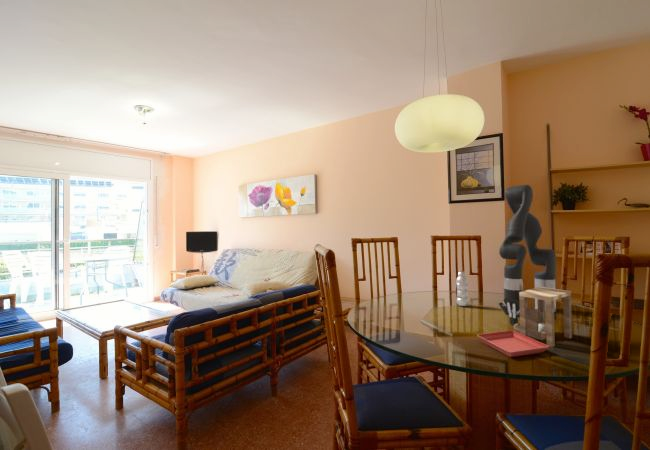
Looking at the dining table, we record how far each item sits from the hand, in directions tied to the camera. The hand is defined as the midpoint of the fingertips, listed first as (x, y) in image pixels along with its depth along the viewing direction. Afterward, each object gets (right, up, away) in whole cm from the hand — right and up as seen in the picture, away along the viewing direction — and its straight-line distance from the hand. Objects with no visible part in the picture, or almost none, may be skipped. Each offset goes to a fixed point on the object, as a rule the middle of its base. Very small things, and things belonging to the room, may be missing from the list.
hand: (513, 325), depth 146 cm
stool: (+7, -2, -11) cm, 13 cm away
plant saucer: (-12, -3, -19) cm, 23 cm away
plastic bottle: (-6, -2, +41) cm, 41 cm away
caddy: (+4, -2, -7) cm, 8 cm away
